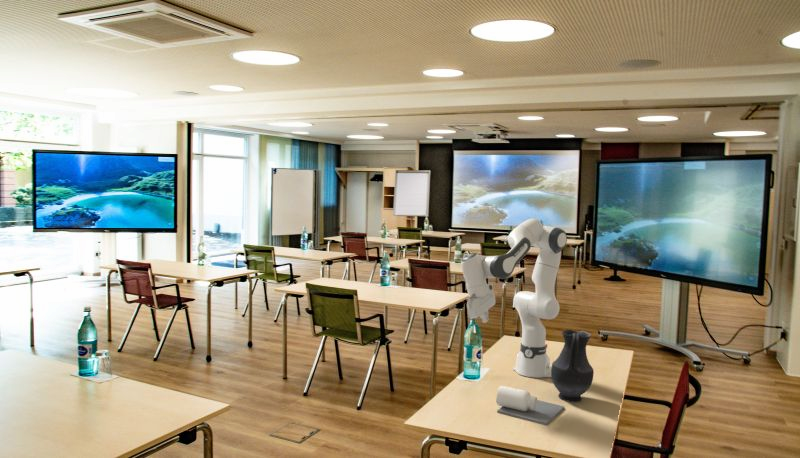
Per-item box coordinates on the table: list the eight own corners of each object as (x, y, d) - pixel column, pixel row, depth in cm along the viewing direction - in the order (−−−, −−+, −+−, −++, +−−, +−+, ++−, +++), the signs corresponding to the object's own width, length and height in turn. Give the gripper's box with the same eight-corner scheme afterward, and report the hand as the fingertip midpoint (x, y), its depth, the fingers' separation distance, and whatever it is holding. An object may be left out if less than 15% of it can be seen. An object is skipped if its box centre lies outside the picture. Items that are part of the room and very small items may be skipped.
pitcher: (590, 394, 261) (595, 327, 259) (592, 411, 241) (597, 338, 239) (550, 389, 266) (554, 322, 264) (548, 404, 246) (553, 333, 244)
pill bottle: (502, 401, 245) (537, 410, 237) (495, 407, 238) (531, 417, 231) (503, 382, 244) (539, 390, 237) (496, 388, 237) (533, 397, 230)
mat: (517, 397, 254) (517, 395, 254) (564, 408, 243) (564, 406, 243) (497, 412, 235) (497, 410, 235) (546, 425, 224) (546, 423, 224)
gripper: (473, 297, 246) (482, 329, 247) (494, 283, 263) (501, 313, 264) (460, 299, 250) (468, 330, 251) (481, 285, 266) (489, 314, 267)
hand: (485, 321), depth 257 cm, fingers closed
